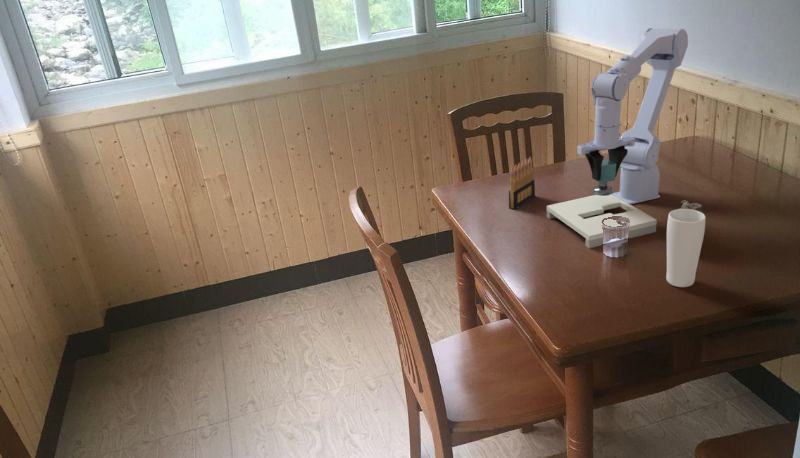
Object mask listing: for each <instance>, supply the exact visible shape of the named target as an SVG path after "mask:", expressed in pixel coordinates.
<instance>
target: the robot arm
mask: <svg viewBox="0 0 800 458" xmlns="http://www.w3.org/2000/svg"><path fill="white" fill-rule="evenodd" d="M688 46H689V37H688V33H687V31H686V29H684V28H680V29H679V28H678V29H677V28H676V29H671V28H669V29H668V28H652V27H649V28H646V29H645V31H644V32H642V34H641V38H640V43H639V44H638V45H637V47H636V48H635V49H634V51H632V52H631V54H630V55H629V54H628V55H622V56H621V57H620V59H619V60H618V61H617V62H616V63H615V64H613V66H611V68H610V69H608V70H607V71H606V72H605V73H602V72H601V73H600V74H598V75H596V76H595V77H594V79H593V81H592V85H591V87H590V92H591V95H592V99H593V101H592V103H593V105H594V106H595V116H594V139H593V140H591V141H589V142H586V143H584V144H579V145H577V147H576V148H577V149H576V150H577V152H576V153H577V154H578V155H579V156H585V158H586V160H587V161H588V164H589V168H590V170H591V177H592V176H593V178H592V180H595V181H596V180H597V182H598V180H600V175H601V165H602V161H603V160H604V159H605V156H604V155H602V154H601V152H602V151H607V153H608V160H610V161H612V162H614V163H616V174H615V178H617V175H618V173H619V169H620V176H619V178H620V179H619V191H617V192H616V191H615V192H612V195H614V196H616V197H617V198H619V199H621V200H623V201H624V202H626V203H628V204H630V205H633V204H639V203H642V202H646V201H651V200H655V199H660V198H661V195H659V191H660V190H659V189H660V178H661V177H660V176H661V175H660V170H659V167H658V166H657V162H658V159H659V155H660V147H661V144H662V143H661V140H660V138H659V137H658V136H657V135H656V134H655V132H654V131H655V128H656V125H657V123H658V119H659V116H660V114H661V110H662V108H663V105H664V102H665V100H666V97H667V93H668V90H669V88H670V85H671V82H672V79H673V76H674V74H675V70H676V68H678V67H680V66H681V65H682V63H683V61H684V59H685V56H686V52H687V49H688ZM645 63H647V64H648V66H651V67H652V73H651V76H650V78H649V80H648V83H647V87H646V90H645V93H644V96H643V99H642V102H641V105H640V107H639V110H638V112H637V116H636V118H635V122H634V125H633V127H632V128H629V129H628V130H625V131H623V132H622V134H621V137H620V129H621V128H620V127H621V109H622V99H624V98H625V96H626V94H627V91H628V89H629V88H630V86H631V85H630V83H632V82H633V80H635V79H636V77H638V76H639V75H640V74H641V71H642V66H643V65H644V64H645Z"/></svg>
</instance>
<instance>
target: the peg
mask: <svg viewBox="0 0 800 458" xmlns="http://www.w3.org/2000/svg"><path fill="white" fill-rule="evenodd" d="M615 174H616V163H614V162H612V161H610V160H609V158H603V161H602V165H601V175H600V180H598V181H597V180H595V181H597V182H598V184H597V185H595V186H593V194H594V195H600V196H607V195H610V194H612V195H613V187H612V186H610V185H608V182H612V181H616V177H615ZM591 178H592V179H593V176H592V175H591Z"/></svg>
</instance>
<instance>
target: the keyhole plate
mask: <svg viewBox="0 0 800 458" xmlns="http://www.w3.org/2000/svg"><path fill="white" fill-rule="evenodd" d="M616 208H622V209H623V210H625V212H620V213H619V212H618V213H614V214H613V213H611V212H608V213H604V211H607V210H612V209H616ZM596 215H597V216H596ZM612 216H622V217H626V218H629V219H630V228H629V239H632V238H637V237H641V236H645V235H649V234H653V233H656V232H657V223H658V222H657V221H658V220H657V219H656V218H655V217H653V216H651V215H649V214H647V213H645V212H644V211H642V210H640V209H639V208H637V207H635V206H633V205H632V204H628V203H626V202H624V201H623V200H621V199H619V198H617V197H616V196H614V195H613V193H612V194H610V195H607V196H600V195H596V194H594V195H589V196H584V197H581V198H579V197H578V198H576V199H575V198H574V199H571V200H567V201H562V202H558V203H553V204H549V205H546V218H548V220H551V219H552V220H553V219H558V220H560V221H561V222H563V223H564V224H565V225H567V226H568V227H570V228H571V229H572V230H574V231H575V232H577V233H578V234H579V235H580V236H582V237H583V238H585V242H584V243H585V247H587V248H588V249H592V248H596V247H600V246H603V245H602V244H603V229H602V226H601V222H602V220H603V219H604V218H608V217H612ZM603 223H604V224H605V225H607V226H611V227H617V226H622V225H620V224H618V223H617V222H616V220H613V219H607V220H604V222H603Z"/></svg>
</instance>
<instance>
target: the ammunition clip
mask: <svg viewBox="0 0 800 458" xmlns="http://www.w3.org/2000/svg"><path fill="white" fill-rule="evenodd" d="M535 186H536V185H535V179H534V168H533V159H532V156H529V158H525V160H522V161H521V162H518V164H515V165H514V166H511V169H510V179H509V190H508V208H509V209H512V210H517V209H518V208H519V207H521V206H523V205H524V204H526V203H528V202H529V201H530V200H531V199H533V198H535V197H536V188H535Z"/></svg>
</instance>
